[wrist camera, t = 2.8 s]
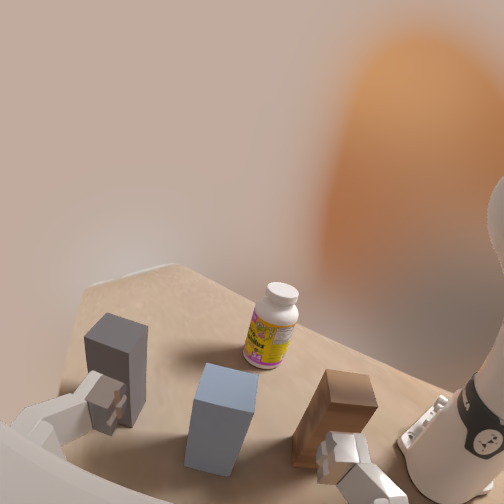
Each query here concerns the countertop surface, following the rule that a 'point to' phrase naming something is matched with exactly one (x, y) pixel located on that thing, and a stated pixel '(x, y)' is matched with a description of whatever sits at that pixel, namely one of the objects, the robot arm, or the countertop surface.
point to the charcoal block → (120, 358)
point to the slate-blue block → (220, 418)
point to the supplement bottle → (271, 326)
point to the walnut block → (332, 413)
